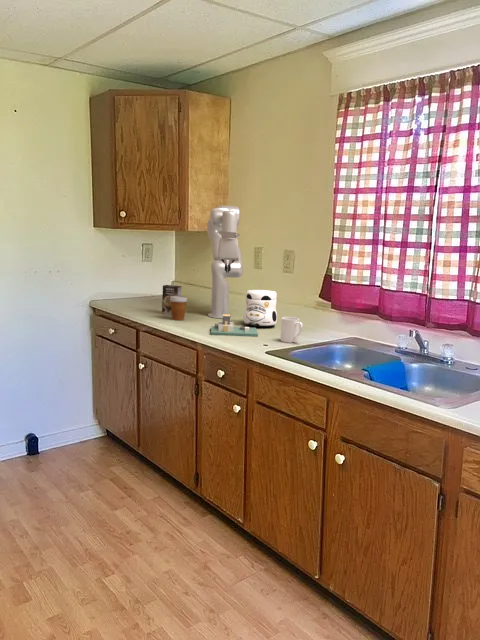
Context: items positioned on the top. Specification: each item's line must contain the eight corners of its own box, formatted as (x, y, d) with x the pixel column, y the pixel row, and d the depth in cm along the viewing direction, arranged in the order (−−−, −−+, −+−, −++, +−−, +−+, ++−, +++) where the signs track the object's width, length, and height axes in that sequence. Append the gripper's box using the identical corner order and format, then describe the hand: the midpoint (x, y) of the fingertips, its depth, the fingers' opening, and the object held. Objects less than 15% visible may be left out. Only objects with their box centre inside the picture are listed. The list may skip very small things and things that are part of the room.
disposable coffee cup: (171, 321, 293) (172, 298, 291) (167, 318, 302) (167, 295, 300) (189, 320, 297) (190, 298, 295) (184, 317, 305) (184, 295, 303)
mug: (276, 340, 258) (278, 317, 256) (290, 338, 262) (291, 316, 261) (294, 345, 248) (295, 321, 246) (307, 343, 253) (309, 320, 251)
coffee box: (161, 314, 313) (162, 285, 310) (165, 312, 319) (166, 284, 316) (176, 315, 311) (177, 286, 308) (180, 314, 317) (181, 285, 314)
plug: (222, 328, 273) (222, 314, 272) (229, 328, 273) (229, 314, 272) (222, 330, 267) (222, 316, 266) (229, 331, 268) (230, 316, 266)
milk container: (247, 329, 281) (248, 293, 278) (240, 322, 298) (241, 289, 295) (280, 329, 285) (282, 294, 281) (272, 323, 301) (273, 289, 298)
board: (211, 328, 278) (211, 320, 278) (255, 330, 279) (256, 321, 279) (210, 334, 263) (211, 326, 262) (257, 336, 263) (258, 327, 263)
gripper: (243, 236, 286) (241, 272, 289) (214, 235, 285) (212, 271, 288) (244, 236, 278) (242, 273, 281) (213, 235, 278) (212, 272, 281)
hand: (227, 272), depth 285 cm, fingers closed
